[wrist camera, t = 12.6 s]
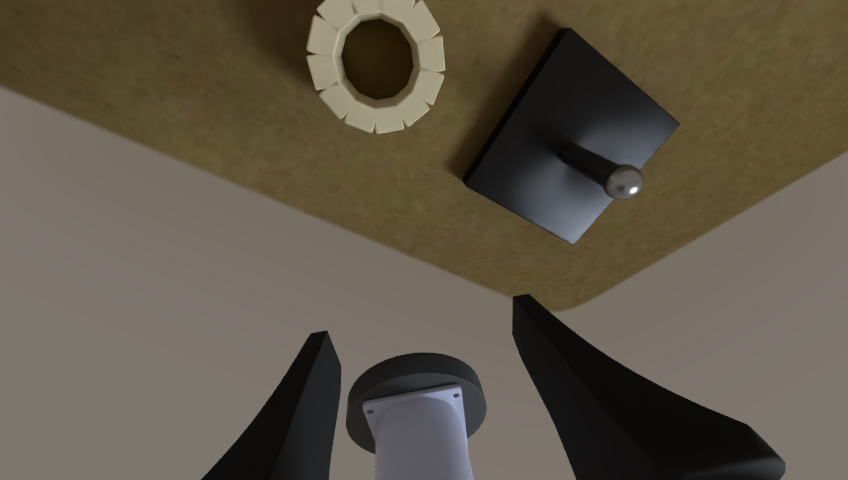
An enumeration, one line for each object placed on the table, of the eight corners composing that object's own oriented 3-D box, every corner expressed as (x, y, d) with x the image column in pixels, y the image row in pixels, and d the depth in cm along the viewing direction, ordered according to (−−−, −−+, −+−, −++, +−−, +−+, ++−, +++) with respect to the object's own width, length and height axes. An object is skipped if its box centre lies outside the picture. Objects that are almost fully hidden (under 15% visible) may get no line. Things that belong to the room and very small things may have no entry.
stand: (667, 120, 19) (779, 147, 14) (566, 238, 23) (624, 296, 17) (559, 27, 16) (649, 16, 11) (461, 180, 20) (492, 228, 14)
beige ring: (439, 112, 18) (450, 122, 15) (336, 128, 17) (329, 141, 15) (426, -18, 15) (436, -33, 12) (303, -1, 15) (287, -11, 12)
